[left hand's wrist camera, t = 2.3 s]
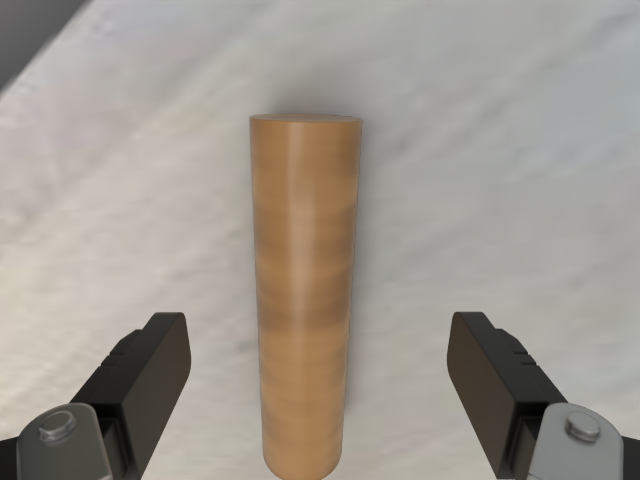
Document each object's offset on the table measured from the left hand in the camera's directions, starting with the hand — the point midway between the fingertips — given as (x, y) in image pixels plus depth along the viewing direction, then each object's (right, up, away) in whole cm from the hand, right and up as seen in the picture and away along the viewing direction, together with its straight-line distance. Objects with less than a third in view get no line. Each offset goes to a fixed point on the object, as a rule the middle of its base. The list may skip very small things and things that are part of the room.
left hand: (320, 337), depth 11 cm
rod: (-1, -1, +16) cm, 16 cm away
